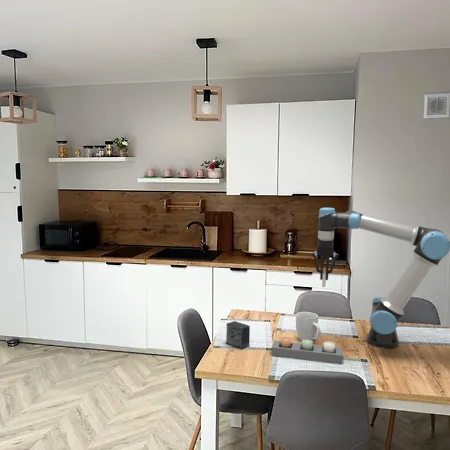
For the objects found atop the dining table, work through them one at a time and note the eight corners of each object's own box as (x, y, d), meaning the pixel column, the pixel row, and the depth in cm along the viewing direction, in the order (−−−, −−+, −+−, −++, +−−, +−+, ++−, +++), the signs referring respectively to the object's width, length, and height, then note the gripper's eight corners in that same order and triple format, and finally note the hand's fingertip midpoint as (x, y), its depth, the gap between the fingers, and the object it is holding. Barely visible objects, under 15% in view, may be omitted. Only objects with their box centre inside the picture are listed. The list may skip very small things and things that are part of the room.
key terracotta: (291, 345, 206) (291, 337, 206) (290, 349, 202) (290, 341, 201) (280, 344, 208) (281, 336, 207) (279, 348, 203) (279, 340, 202)
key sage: (312, 348, 204) (313, 339, 203) (312, 352, 199) (312, 343, 199) (302, 346, 205) (302, 338, 205) (301, 350, 200) (301, 342, 200)
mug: (327, 343, 218) (328, 318, 217) (311, 348, 212) (312, 322, 211) (306, 334, 230) (307, 310, 229) (290, 338, 224) (291, 313, 223)
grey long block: (342, 356, 203) (342, 348, 202) (342, 364, 194) (342, 355, 194) (274, 348, 211) (274, 340, 210) (271, 355, 202) (271, 347, 202)
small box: (250, 345, 214) (250, 325, 213) (241, 349, 209) (242, 328, 208) (234, 340, 221) (234, 320, 220) (225, 343, 216) (225, 323, 215)
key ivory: (334, 350, 201) (334, 342, 201) (334, 354, 197) (334, 346, 196) (323, 349, 203) (323, 341, 202) (323, 353, 198) (323, 345, 197)
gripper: (339, 238, 214) (337, 285, 217) (312, 237, 218) (310, 283, 220) (339, 241, 207) (337, 289, 210) (311, 239, 210) (309, 287, 213)
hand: (323, 286), depth 215 cm, fingers closed
